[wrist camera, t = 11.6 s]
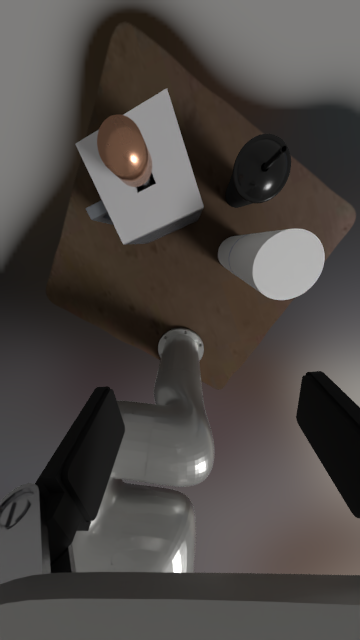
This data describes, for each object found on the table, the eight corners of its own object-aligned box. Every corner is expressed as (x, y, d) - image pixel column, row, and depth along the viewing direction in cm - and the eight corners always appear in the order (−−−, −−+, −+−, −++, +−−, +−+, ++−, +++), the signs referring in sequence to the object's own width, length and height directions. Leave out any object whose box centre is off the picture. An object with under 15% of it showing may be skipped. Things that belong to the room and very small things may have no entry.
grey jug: (176, 155, 36) (166, 88, 20) (197, 220, 40) (203, 206, 24) (105, 192, 39) (49, 159, 23) (132, 250, 43) (100, 254, 27)
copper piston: (171, 164, 35) (144, 41, 14) (188, 215, 38) (189, 180, 17) (128, 186, 37) (45, 108, 15) (148, 233, 40) (102, 223, 18)
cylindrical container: (216, 239, 42) (251, 236, 18) (249, 233, 41) (328, 221, 18) (219, 271, 44) (253, 304, 21) (250, 266, 43) (320, 294, 20)
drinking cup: (236, 161, 36) (287, 76, 18) (264, 188, 38) (339, 137, 19) (210, 198, 39) (231, 159, 20) (238, 223, 40) (281, 207, 22)
